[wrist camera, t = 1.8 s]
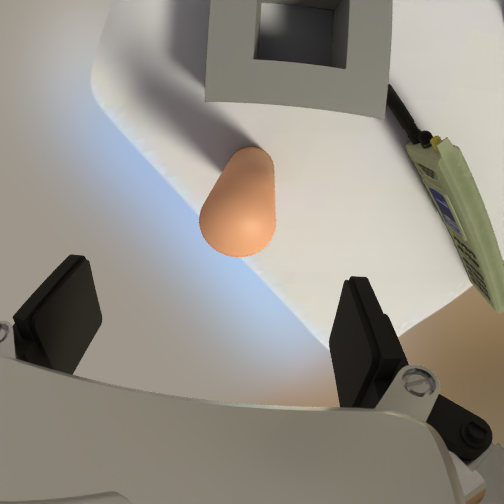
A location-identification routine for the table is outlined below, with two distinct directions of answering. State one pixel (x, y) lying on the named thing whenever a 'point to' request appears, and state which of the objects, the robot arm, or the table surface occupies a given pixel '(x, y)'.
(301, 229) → the table surface
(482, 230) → the handheld radio
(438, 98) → the table surface
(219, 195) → the peg
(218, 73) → the socket block
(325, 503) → the robot arm
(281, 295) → the table surface
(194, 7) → the table surface
